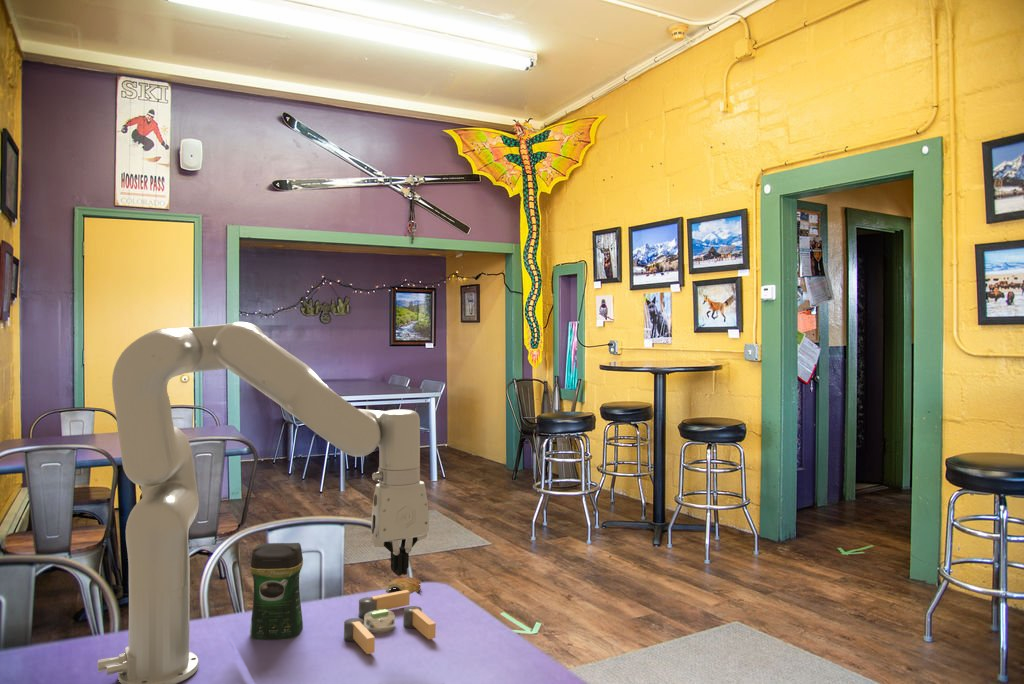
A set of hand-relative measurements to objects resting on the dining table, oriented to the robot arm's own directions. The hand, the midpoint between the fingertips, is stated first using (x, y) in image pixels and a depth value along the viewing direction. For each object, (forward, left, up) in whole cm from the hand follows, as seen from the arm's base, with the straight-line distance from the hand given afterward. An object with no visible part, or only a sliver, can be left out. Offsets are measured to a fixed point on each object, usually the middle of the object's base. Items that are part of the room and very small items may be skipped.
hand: (399, 573), depth 135 cm
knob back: (+3, +15, -13) cm, 20 cm away
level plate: (0, +9, -15) cm, 17 cm away
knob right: (+6, +3, -13) cm, 15 cm away
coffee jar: (-18, +17, -15) cm, 29 cm away
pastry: (+12, +26, -15) cm, 33 cm away
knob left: (-7, +3, -13) cm, 15 cm away
